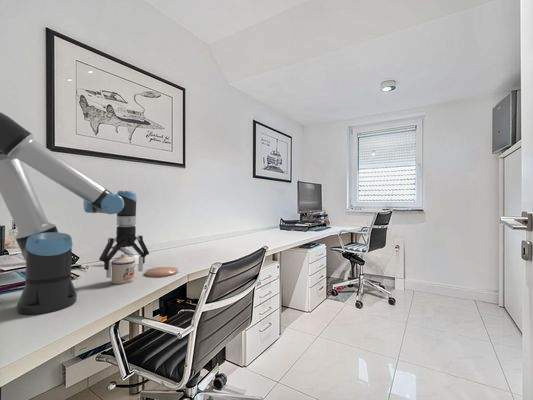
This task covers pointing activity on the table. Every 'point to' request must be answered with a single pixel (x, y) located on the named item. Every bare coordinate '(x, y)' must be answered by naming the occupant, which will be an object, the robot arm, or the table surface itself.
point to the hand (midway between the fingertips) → (125, 274)
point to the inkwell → (129, 254)
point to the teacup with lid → (123, 270)
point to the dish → (161, 272)
